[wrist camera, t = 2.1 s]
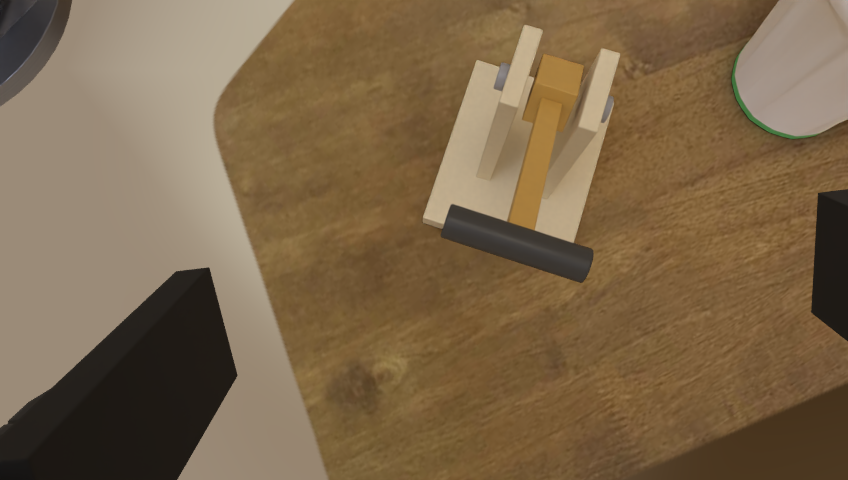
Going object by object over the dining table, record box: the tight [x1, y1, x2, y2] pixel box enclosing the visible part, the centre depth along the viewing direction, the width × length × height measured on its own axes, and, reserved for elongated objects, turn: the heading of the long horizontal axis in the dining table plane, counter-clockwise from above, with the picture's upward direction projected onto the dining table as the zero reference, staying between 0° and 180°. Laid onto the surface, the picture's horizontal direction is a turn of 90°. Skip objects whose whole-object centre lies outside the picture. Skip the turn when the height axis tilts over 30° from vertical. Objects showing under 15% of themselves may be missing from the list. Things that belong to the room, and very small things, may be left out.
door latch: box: [423, 25, 620, 243], centre depth 38 cm, size 12×10×14 cm
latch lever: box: [441, 54, 593, 283], centre depth 30 cm, size 13×6×2 cm, turn 162°
